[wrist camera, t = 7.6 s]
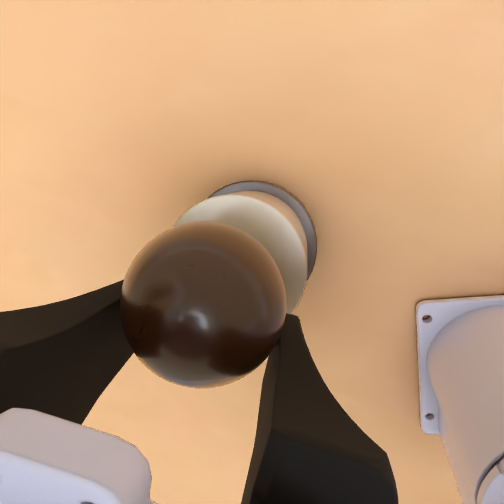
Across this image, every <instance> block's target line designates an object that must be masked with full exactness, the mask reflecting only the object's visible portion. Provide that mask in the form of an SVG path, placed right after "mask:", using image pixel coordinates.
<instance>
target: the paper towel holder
mask: <svg viewBox="0 0 504 504" xmlns="http://www.w3.org/2000/svg"><path fill="white" fill-rule="evenodd" d="M316 254H317V239H316V233H315V228H314V225H313V222H312V219H311V217H310V215H309V213H308V212H307V210H306V209H305V207H304V206H303V205H302V203H301V202H300V201H299V200H298V199H297V198H296V197H295V196H293V195H292V194H291V193H290V192H288V191H286V190H285V189H283V188H281V187H279V186H277V185H274V184H271V183H267V182H262V181H243V182H237V183H233V184H230V185H227V186H225V187H223V188H221V189H219V190H217V191H216V192H214V193H213V194H212V195H210V196H209V197H208V198H207V199H206V200H204V201H201V202H200V203H198V204H196V205H194V206H193V207H191V208H190V209H189V210H187V211H186V212H185V213H184V214H183V215H182V216H181V217H180V218H179V220H178V221H177V222H176V223H175V225H174V227H173V228H171V229H169V230H167V231H165V232H163V233H161V234H160V235H158V236H157V237H155V238H154V239H153V240H151V241H150V242H149V243H148V244H147V245H146V246H145V247H144V248H143V249H142V250H141V251H140V252H139V253H138V255H137V256H136V257H135V259H134V260H133V262H132V264H131V265H130V267H129V269H128V271H127V274H126V277H125V279H124V282H123V285H122V290H121V296H120V317H121V323H122V327H123V331H124V334H125V336H126V339H127V341H128V343H129V345H130V346H131V348H132V350H133V352H134V353H135V354H136V356H137V357H138V358H139V360H140V361H141V362H142V363H143V364H144V365H145V366H146V367H147V368H148V369H150V370H151V371H152V372H153V373H155V374H156V375H158V376H159V377H161V378H163V379H165V380H167V381H169V382H172V383H175V384H177V385H181V386H185V387H190V388H212V387H219V386H223V385H226V384H230V383H232V382H235V381H237V380H239V379H241V378H243V377H244V376H246V375H248V374H249V373H251V372H252V371H253V370H255V369H256V368H257V367H258V366H259V365H260V364H261V363H262V362H263V361H264V360H265V359H266V358H267V357H268V355H269V354H270V353H271V351H272V350H273V348H274V347H275V345H276V343H277V341H278V339H279V337H280V334H281V331H282V328H283V325H284V321H285V316H286V313H288V314H291V313H292V312H293V310H294V309H295V308H296V306H297V305H298V303H299V301H300V299H301V297H302V294H303V292H304V289H305V285H306V281H307V280H308V278H309V276H310V274H311V272H312V270H313V267H314V264H315V260H316Z"/></svg>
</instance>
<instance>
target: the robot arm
mask: <svg viewBox="0 0 504 504" xmlns="http://www.w3.org/2000/svg"><path fill="white" fill-rule="evenodd" d="M123 282H124V280H122V281H119V282H117V283H114V284H111V285H109V286H106V287H103V288H101V289H98V290H95V291H92V292H89V293H86V294H83V295H80V296H77V297H74V298H71V299H67V300H63V301H60V302H55V303H51V304H47V305H42V306H37V307H31V308H25V309H19V310H13V311H6V312H0V504H157V503H156V502H154V501H152V500H150V487H151V480H152V476H151V472H150V467H149V463H148V461H147V459H146V458H145V457H144V455H143V454H142V453H141V452H140V451H139V450H138V449H137V447H136V446H135V445H133V444H131V443H129V442H127V441H125V440H123V439H122V438H120V437H118V436H115V435H112V434H108V433H105V432H102V431H99V430H96V429H93V428H90V427H86V426H83V425H82V423H83V421H84V420H85V418H86V417H87V415H88V413H89V412H90V410H91V409H92V407H93V406H94V404H95V402H96V401H97V399H98V398H99V396H100V395H101V394H102V392H103V391H104V390H105V388H106V387H107V386H108V384H109V383H110V382H111V381H112V379H113V378H114V377H115V376H116V374H117V373H118V372H119V371H120V369H121V368H122V367H123V366H124V364H125V363H126V362H127V361H128V359H129V358H130V357H131V355H132V354H133V353H134V352H133V350H132V348H131V346H130V345H129V343H128V341H127V339H126V336H125V334H124V331H123V327H122V323H121V317H120V296H121V290H122V285H123ZM425 315H430V318H428V319H422V317H423V316H425ZM416 324H417V349H418V374H419V398H420V423H421V428H422V431H423V432H424V433H426V434H440V435H441V439H442V442H443V445H444V448H445V451H446V454H447V457H448V460H449V463H450V466H451V469H452V472H453V475H454V478H455V481H456V485H457V488H458V491H459V494H460V497H461V500H462V503H463V504H504V295H497V296H482V297H467V298H452V299H437V300H424V301H421V302H419V303H418V304H417V306H416ZM428 413H431V415H426V414H428ZM241 504H398V494H397V488H396V483H395V479H394V475H393V472H392V469H391V465H390V462H389V459H388V456H387V453H386V452H385V451H384V450H382V449H381V448H380V447H379V446H378V445H377V444H376V443H375V442H374V441H373V440H372V439H371V438H369V437H368V436H367V435H366V434H365V433H364V432H363V431H362V430H361V429H360V428H359V427H358V426H357V424H356V423H355V422H354V421H353V420H352V419H351V418H350V417H349V416H348V414H347V413H346V412H345V411H344V410H343V408H342V407H341V406H340V404H339V403H338V402H337V400H336V399H335V398H334V396H333V395H332V394H331V392H330V391H329V389H328V387H327V386H326V384H325V383H324V381H323V379H322V377H321V375H320V373H319V372H318V370H317V367H316V365H315V363H314V361H313V359H312V357H311V354H310V352H309V349H308V347H307V344H306V341H305V338H304V335H303V332H302V328H301V324H300V319H299V318H298V316H295V315H291V314H288V313H286V316H285V321H284V325H283V328H282V331H281V334H280V337H279V339H278V341H277V343H276V345H275V347H274V348H273V350H272V351H271V353H270V354H269V357H268V361H267V365H266V369H265V373H264V378H263V383H262V390H261V398H260V406H259V414H258V422H257V430H256V437H255V443H254V449H253V453H252V458H251V462H250V467H249V471H248V476H247V480H246V484H245V489H244V493H243V497H242V502H241Z"/></svg>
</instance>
